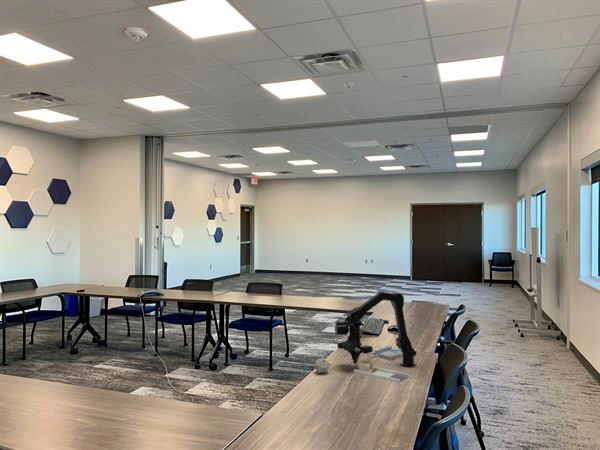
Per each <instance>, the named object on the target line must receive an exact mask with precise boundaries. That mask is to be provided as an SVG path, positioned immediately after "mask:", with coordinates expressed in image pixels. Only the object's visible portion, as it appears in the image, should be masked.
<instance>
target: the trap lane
mask: <svg viewBox="0 0 600 450" xmlns="http://www.w3.org/2000/svg"><path fill="white" fill-rule="evenodd" d="M353 373H356V374H360V375H364V376H369V377H371V378H377V379H380V380H384V381H389V382H393V383H396V384H401V382H402V381H403V380H406V379H407V378H408V379H410V378H411V374H409V373H404V372H401V371H397V370H391V369H386V368H383V367H378V366H377V367H376V366H375V371H374V372H372V373H369V372H365V371H361V370H359V369H357V368H355V369H353Z"/></svg>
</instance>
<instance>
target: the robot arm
mask: <svg viewBox="0 0 600 450" xmlns="http://www.w3.org/2000/svg"><path fill="white" fill-rule="evenodd" d="M382 301H389V302H390V303H391V305H392V308H393V310H394V316H395V321H396V327H397V333H398V336H397V337H396V338H395V342H396V344H395V347H396V346H397V348H398V350H401V352H402V353H403V357H402V363H401V364H400V366H401V367H407V368H413V367H416V366H417V363H415V360H414V359H415V357H416V356H417V351H416V350H415V348H413V345H412V342H411V339H410V338H409V336H408V334H407V327H406V321H405V316H404V305H405V297H404V295H403V294H401V293H399V292H396V291H393V292H384V291H378V292H377V293H376V294H375V295H374V296H372V297H371V298H369V299H368V300H367V301H366V302H364V303H363V304H361V305H359V306H356V307H354V308H352V309H350V310H349V311H348V314H347V317H346V318H345V319H344V321H335V325H334V333H335V335H336V336H341V335H343V336H344V335H348V334H349V335H348V336H347V340H345V341H340V342H338V344H337V348H338V349H340V350H343V351H346V352H347V353H349V354H350V356H351V358H352V361H353V362H352V363H353V364H355V365H356V364H357V363H358V360H359V358H360V355H361V354H366V355H367V354H369V353H372V352H374V351H373V349H374V348H373V347H372V346H370V345H363V343H362V342H361V339H362V335H361V327H362V326H365V324H364V323H363V322H362V321H361V320H362V319H363V318H364V317H365V315H366V314H367V313H368V312H369V311H370V310H371V309H372V308H374V307H375V306H377V305H378V304H380V303H381V302H382ZM362 345H363V346H362Z"/></svg>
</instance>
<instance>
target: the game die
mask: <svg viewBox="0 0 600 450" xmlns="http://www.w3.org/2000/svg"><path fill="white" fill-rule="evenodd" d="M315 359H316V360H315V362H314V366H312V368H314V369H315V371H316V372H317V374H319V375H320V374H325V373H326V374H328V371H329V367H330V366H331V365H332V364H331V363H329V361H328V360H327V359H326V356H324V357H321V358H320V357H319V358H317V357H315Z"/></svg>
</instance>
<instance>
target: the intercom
mask: <svg viewBox="0 0 600 450" xmlns="http://www.w3.org/2000/svg"><path fill="white" fill-rule="evenodd" d="M366 357H368V358H369V359H370V358H372V359H375V358H379V359H383V360H385V361H386V360H387V361H391V362H392V361H395V360H397V359H401V358H403V353H402V352H401V350H400V349H396V348H395V349H392V346H391V345H385V346H383V347H378V348H376V349H374V351H373V352H370V353H368V354H366Z"/></svg>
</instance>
